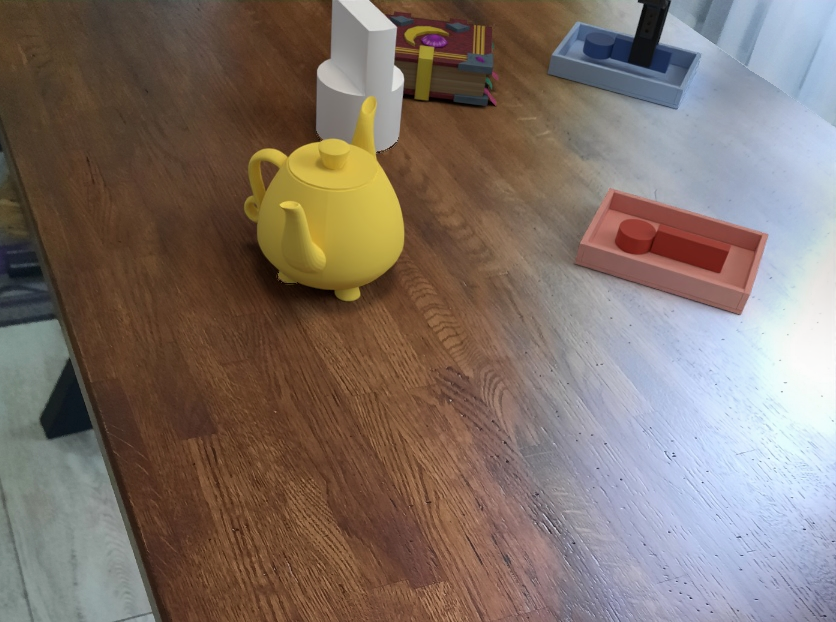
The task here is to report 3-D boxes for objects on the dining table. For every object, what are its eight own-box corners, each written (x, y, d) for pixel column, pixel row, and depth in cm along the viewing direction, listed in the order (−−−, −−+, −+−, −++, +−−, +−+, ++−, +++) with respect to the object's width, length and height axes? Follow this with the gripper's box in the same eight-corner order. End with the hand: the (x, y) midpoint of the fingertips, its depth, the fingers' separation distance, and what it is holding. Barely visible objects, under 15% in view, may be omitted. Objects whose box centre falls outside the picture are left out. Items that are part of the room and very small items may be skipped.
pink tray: (759, 253, 92) (769, 233, 90) (740, 315, 86) (750, 294, 84) (603, 207, 95) (609, 187, 93) (574, 263, 89) (579, 242, 87)
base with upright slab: (413, 147, 99) (425, 24, 90) (336, 160, 96) (341, 35, 87) (376, 107, 104) (385, -13, 94) (302, 119, 101) (303, -4, 91)
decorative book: (364, 50, 112) (367, 4, 108) (496, 65, 113) (504, 20, 109) (355, 93, 105) (358, 46, 101) (496, 110, 106) (504, 64, 102)
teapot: (288, 192, 92) (288, 71, 83) (430, 231, 90) (445, 110, 81) (197, 304, 80) (185, 177, 71) (357, 351, 78) (366, 226, 69)
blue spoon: (669, 66, 113) (676, 45, 111) (663, 77, 111) (669, 56, 109) (587, 43, 115) (592, 22, 113) (579, 54, 113) (584, 33, 111)
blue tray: (696, 72, 116) (702, 53, 114) (677, 109, 109) (683, 90, 108) (572, 39, 119) (577, 20, 117) (547, 73, 112) (551, 54, 111)
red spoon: (724, 261, 90) (733, 238, 88) (717, 280, 88) (727, 257, 86) (619, 229, 92) (626, 207, 90) (610, 247, 90) (617, 225, 88)
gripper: (689, -210, 98) (625, 31, 117) (659, -178, 90) (595, 76, 109) (759, -195, 97) (682, 46, 116) (735, -161, 89) (657, 93, 108)
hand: (640, 60), depth 112 cm, fingers closed on blue spoon, 1 cm apart
